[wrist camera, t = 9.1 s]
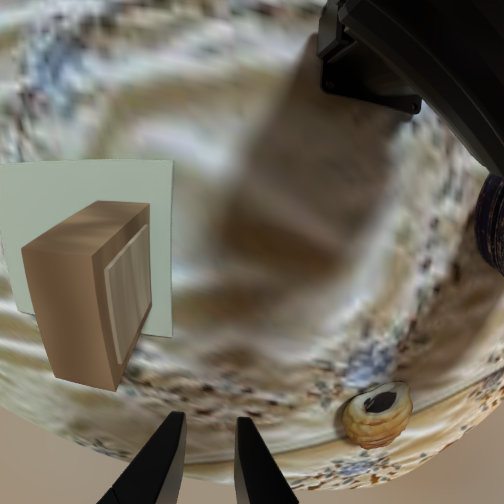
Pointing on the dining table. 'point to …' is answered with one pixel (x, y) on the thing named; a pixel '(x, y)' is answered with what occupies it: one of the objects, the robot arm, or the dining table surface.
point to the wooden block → (92, 290)
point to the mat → (78, 197)
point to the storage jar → (491, 222)
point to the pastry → (378, 415)
